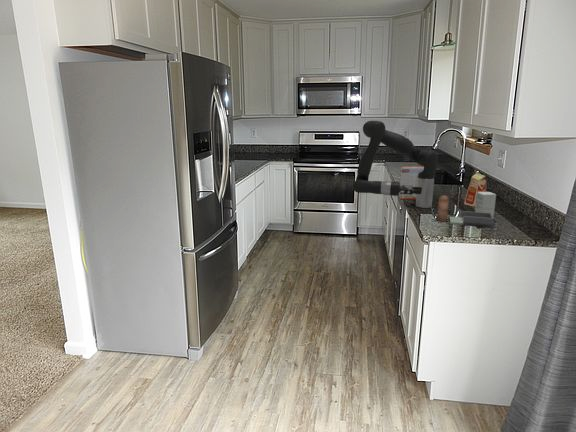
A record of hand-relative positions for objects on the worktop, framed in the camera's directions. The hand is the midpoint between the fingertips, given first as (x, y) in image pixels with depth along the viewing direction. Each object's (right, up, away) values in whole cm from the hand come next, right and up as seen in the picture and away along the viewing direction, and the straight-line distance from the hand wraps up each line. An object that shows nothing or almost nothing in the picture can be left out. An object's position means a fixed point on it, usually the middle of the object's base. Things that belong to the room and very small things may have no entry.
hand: (421, 190), depth 216 cm
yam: (+11, -16, 0) cm, 19 cm away
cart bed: (+24, -17, -4) cm, 30 cm away
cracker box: (+10, -2, +53) cm, 54 cm away
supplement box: (+38, -13, +11) cm, 41 cm away
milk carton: (+45, -7, +36) cm, 58 cm away
